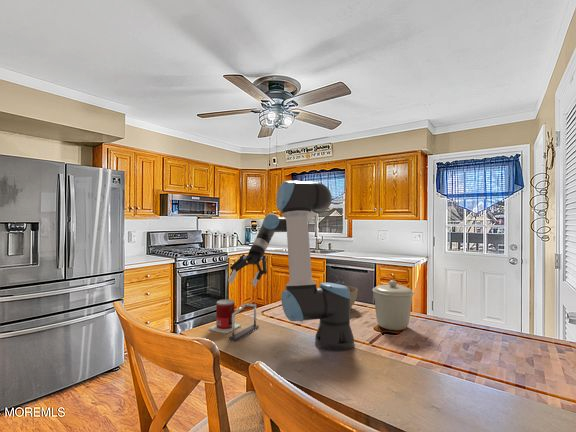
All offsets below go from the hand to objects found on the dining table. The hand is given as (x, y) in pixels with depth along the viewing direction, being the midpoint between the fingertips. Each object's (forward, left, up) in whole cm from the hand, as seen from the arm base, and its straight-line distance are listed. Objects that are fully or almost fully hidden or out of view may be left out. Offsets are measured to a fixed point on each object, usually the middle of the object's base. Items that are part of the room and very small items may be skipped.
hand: (241, 283), depth 153 cm
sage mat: (+1, +11, -18) cm, 21 cm away
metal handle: (-11, +13, -18) cm, 24 cm away
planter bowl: (-36, -43, -18) cm, 59 cm away
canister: (-65, -26, -18) cm, 72 cm away
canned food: (+1, +11, -17) cm, 20 cm away
